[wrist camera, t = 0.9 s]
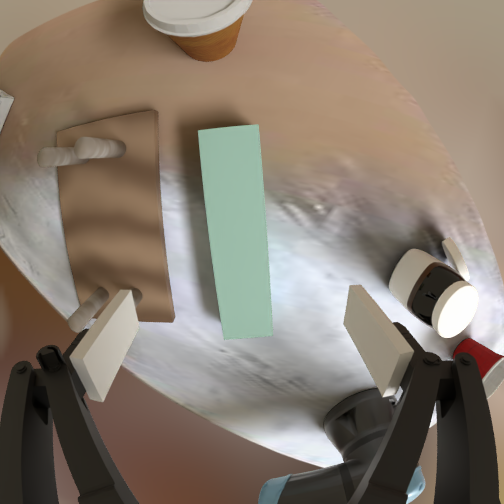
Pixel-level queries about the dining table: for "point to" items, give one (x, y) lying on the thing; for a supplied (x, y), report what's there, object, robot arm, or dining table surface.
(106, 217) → the peg rack
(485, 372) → the plastic cup
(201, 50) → the disposable coffee cup
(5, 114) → the tea box
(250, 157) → the shelf board
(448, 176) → the dining table surface
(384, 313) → the robot arm
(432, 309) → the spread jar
